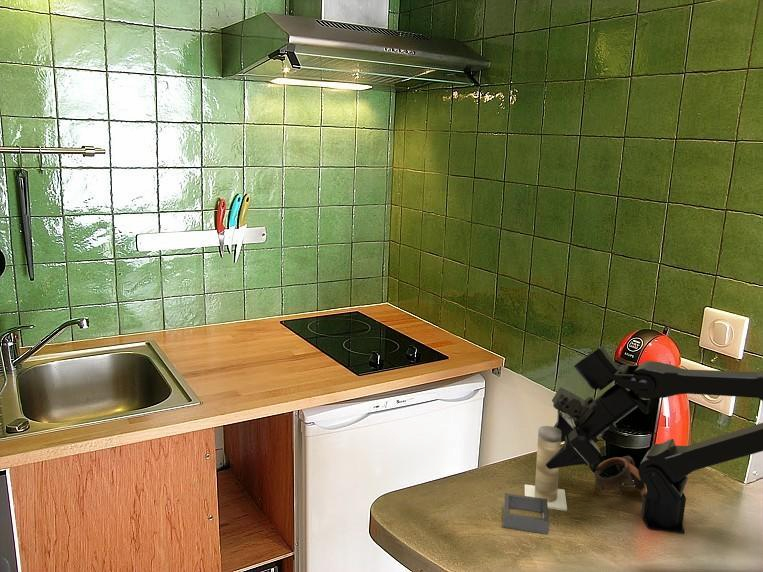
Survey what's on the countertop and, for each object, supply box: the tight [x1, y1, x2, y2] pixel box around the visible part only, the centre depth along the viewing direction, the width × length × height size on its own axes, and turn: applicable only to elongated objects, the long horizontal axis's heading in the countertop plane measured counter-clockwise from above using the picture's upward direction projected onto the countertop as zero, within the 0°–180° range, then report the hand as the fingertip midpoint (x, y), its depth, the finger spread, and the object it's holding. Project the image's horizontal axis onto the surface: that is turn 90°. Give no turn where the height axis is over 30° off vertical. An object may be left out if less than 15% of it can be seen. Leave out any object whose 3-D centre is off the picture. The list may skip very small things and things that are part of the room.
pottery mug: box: [593, 455, 647, 501], centre depth 129 cm, size 12×10×8 cm
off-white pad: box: [524, 484, 568, 512], centre depth 126 cm, size 8×8×1 cm
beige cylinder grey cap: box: [534, 425, 562, 502], centre depth 124 cm, size 4×4×14 cm
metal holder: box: [502, 493, 550, 535], centre depth 118 cm, size 8×8×2 cm
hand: (544, 456), depth 124 cm, fingers open, 9 cm apart
